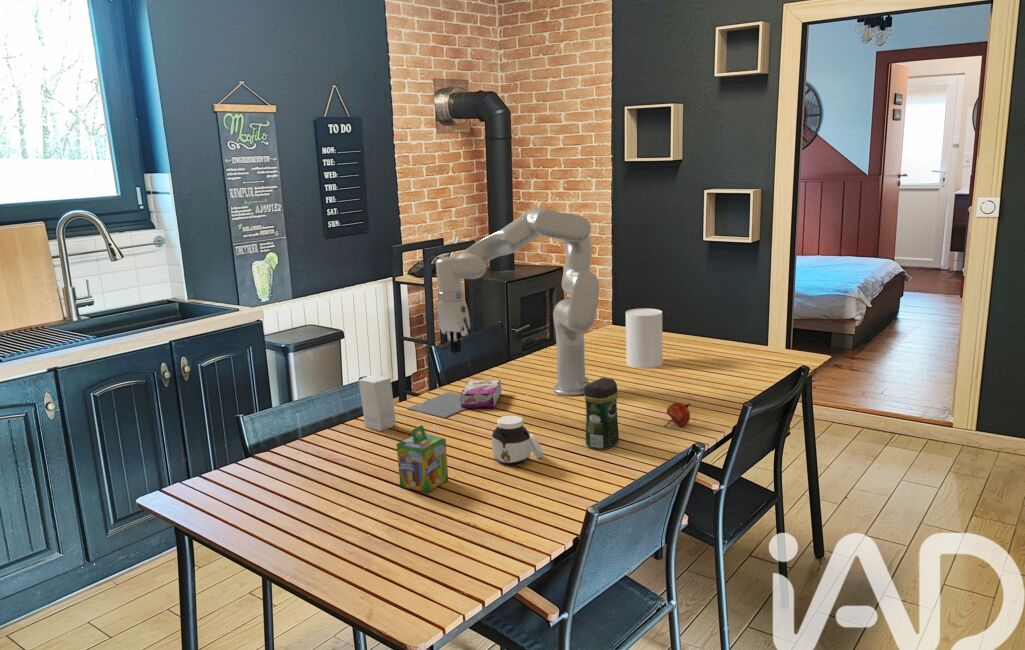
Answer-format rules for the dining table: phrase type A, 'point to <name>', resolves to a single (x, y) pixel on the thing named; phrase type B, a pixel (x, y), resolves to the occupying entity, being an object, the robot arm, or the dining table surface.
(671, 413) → the pomegranate
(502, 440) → the spread jar
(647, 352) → the canister
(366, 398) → the skincare box
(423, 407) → the slate mat
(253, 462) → the dining table surface
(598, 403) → the coffee jar
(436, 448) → the chalk box
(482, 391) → the candy bar box
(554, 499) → the dining table surface
